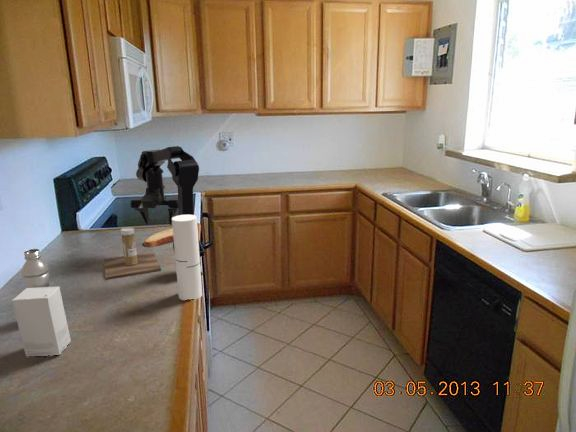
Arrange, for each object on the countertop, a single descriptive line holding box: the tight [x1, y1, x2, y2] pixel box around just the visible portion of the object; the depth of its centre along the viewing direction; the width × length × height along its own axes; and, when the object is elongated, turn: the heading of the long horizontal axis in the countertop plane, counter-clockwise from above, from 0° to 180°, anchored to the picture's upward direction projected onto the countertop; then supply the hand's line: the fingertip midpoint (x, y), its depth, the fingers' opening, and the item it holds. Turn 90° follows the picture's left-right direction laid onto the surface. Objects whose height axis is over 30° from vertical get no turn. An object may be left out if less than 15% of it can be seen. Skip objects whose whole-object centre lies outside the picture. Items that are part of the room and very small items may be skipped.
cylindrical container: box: [171, 214, 203, 301], centre depth 128 cm, size 7×7×25 cm
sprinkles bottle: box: [120, 226, 138, 266], centre depth 152 cm, size 5×5×13 cm
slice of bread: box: [143, 227, 173, 248], centre depth 182 cm, size 18×18×4 cm
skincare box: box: [11, 286, 72, 357], centre depth 101 cm, size 8×7×16 cm
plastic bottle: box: [21, 248, 51, 288], centre depth 115 cm, size 6×7×20 cm
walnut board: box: [103, 251, 162, 281], centre depth 154 cm, size 18×18×1 cm
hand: (159, 224), depth 160 cm, fingers open, 9 cm apart
